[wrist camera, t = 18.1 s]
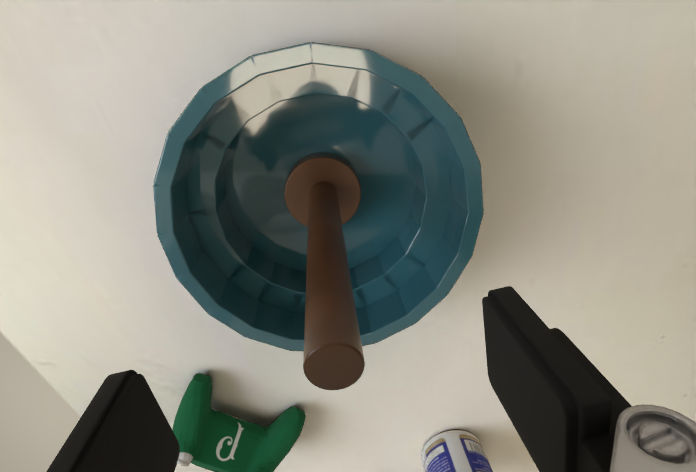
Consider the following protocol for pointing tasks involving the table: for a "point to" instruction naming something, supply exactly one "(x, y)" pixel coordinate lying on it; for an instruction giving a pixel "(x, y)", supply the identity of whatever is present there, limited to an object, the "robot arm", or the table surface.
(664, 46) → the table surface
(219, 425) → the gaming controller
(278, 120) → the bowl
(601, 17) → the table surface
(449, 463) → the pill bottle
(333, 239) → the stick
